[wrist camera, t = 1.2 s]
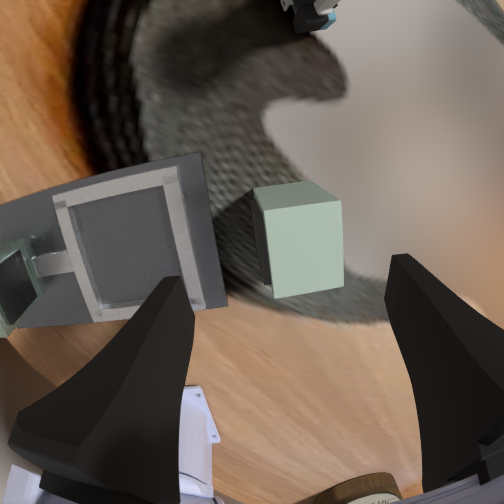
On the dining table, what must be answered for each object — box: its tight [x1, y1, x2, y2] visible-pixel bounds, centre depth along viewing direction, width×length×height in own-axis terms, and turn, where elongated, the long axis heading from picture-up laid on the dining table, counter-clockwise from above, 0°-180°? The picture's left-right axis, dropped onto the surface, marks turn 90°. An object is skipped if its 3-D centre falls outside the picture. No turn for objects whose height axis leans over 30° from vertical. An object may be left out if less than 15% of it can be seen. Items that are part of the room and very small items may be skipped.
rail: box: [0, 152, 228, 337], centre depth 18 cm, size 20×11×7 cm, turn 98°
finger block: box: [250, 181, 344, 299], centre depth 19 cm, size 4×5×6 cm
